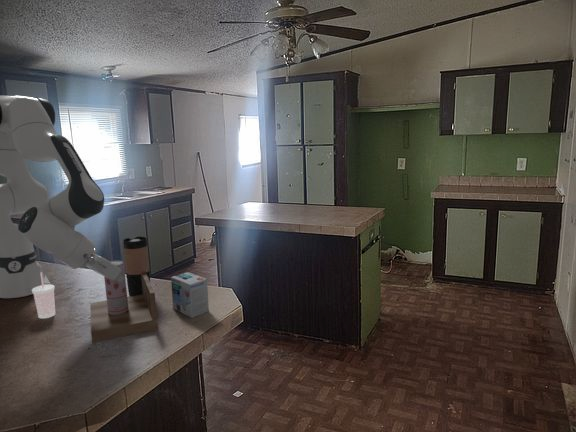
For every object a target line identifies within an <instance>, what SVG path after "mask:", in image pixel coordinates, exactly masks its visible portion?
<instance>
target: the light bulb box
mask: <svg viewBox="0 0 576 432" xmlns="http://www.w3.org/2000/svg"><path fill="white" fill-rule="evenodd" d="M170 281H171V282H170V283H171V294H172V295H171V297H172V299H171V300H172V309H174V310H175V311H177V312H179V313H181V314H183V315H185V316H187V317H189V318H195V317H197V316H200V315H203V314H206V313H208V312H209V292H208V291H209V289H208V279H207V278H205V277H204V276H203V277H202V276H200V275H197V274H194V273H192V272H189V271H188V272H184V273H179V274H177V275H174V276H171V277H170ZM205 312H206V313H205Z"/></svg>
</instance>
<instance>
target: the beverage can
mask: <svg viewBox="0 0 576 432" xmlns="http://www.w3.org/2000/svg"><path fill="white" fill-rule="evenodd" d="M109 262H111V263H112V264H114V265H115V266H117V267H118V268H120V269H121V270H122V272H121V275H122V276H123V277H124V278H125V279H124V280H123V282H119V281H117V280H115V281H112V280H110V279H108V278H106V277H105V276H103V277H104V287H105V288H104V289H105V297H106V300H107V307H108V313H109V314H111V315H120V314H123V313H125V312H127V310H128V299H127V297H128V290H127V289H128V288H127V283H126V282H127V278H126V269H125V263H124V262H123V260H110V261H109Z"/></svg>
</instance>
